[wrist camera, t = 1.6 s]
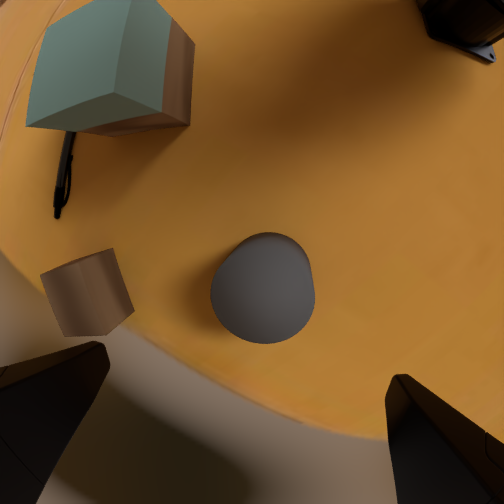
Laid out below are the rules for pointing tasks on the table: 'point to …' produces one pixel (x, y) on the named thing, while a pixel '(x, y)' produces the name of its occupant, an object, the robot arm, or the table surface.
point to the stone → (264, 289)
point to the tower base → (164, 91)
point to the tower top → (100, 66)
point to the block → (88, 295)
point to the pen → (63, 174)
